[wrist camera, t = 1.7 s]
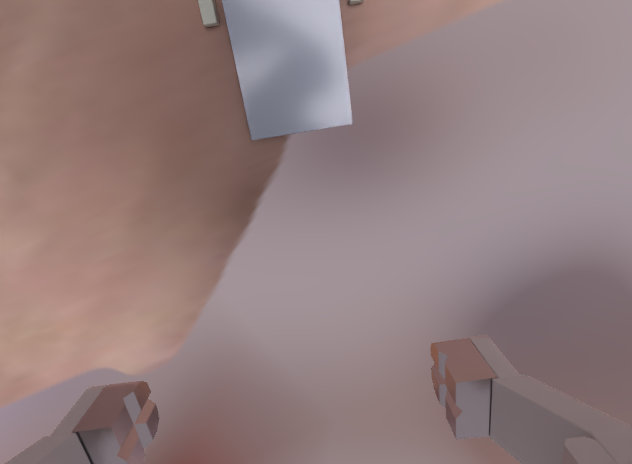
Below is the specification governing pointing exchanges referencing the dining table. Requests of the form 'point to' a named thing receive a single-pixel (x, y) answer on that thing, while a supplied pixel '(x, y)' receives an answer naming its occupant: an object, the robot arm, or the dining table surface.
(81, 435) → the robot arm
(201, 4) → the shelf
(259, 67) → the slab
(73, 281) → the dining table surface
